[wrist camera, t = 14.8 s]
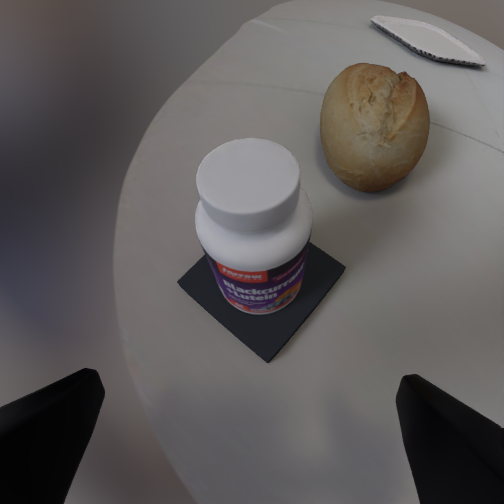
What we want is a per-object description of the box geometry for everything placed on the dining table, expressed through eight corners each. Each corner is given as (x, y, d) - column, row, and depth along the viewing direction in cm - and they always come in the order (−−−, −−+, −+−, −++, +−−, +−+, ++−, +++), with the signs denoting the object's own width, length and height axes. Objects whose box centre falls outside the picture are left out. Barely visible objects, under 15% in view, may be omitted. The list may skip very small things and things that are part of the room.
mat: (268, 363, 18) (267, 362, 17) (180, 286, 21) (176, 281, 20) (343, 272, 20) (346, 266, 19) (256, 211, 23) (255, 205, 22)
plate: (430, 30, 47) (432, 23, 45) (491, 74, 37) (494, 65, 35) (361, 22, 46) (362, 13, 44) (423, 64, 36) (426, 54, 34)
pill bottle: (229, 326, 18) (185, 247, 10) (212, 252, 21) (171, 144, 12) (314, 303, 18) (343, 207, 10) (288, 232, 21) (291, 117, 13)
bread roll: (411, 116, 28) (427, 58, 21) (416, 217, 22) (454, 145, 15) (331, 96, 30) (335, 35, 24) (304, 188, 24) (310, 106, 17)
